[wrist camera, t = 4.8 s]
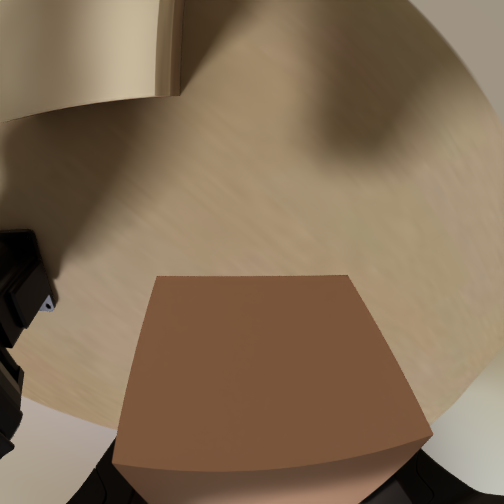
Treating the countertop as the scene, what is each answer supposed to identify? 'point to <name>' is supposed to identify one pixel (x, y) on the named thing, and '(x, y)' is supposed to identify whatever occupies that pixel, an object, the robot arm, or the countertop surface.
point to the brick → (263, 395)
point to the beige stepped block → (86, 53)
